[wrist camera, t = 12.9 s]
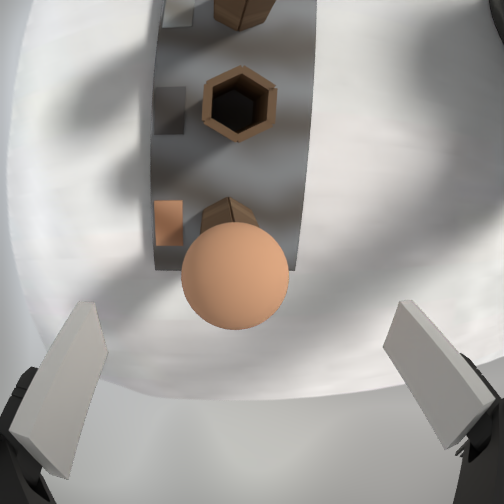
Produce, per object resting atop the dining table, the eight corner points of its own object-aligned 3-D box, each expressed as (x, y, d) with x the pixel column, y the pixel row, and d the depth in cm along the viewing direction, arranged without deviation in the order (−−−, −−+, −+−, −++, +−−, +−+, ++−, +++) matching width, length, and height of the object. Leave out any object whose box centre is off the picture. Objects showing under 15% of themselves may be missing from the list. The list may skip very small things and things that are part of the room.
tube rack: (170, -25, 16) (157, -70, 9) (313, -15, 18) (346, -53, 11) (157, 265, 27) (140, 314, 20) (292, 266, 29) (317, 312, 22)
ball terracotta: (184, 209, 18) (172, 246, 12) (281, 210, 19) (310, 247, 13) (187, 294, 20) (181, 352, 15) (272, 293, 21) (292, 349, 16)
